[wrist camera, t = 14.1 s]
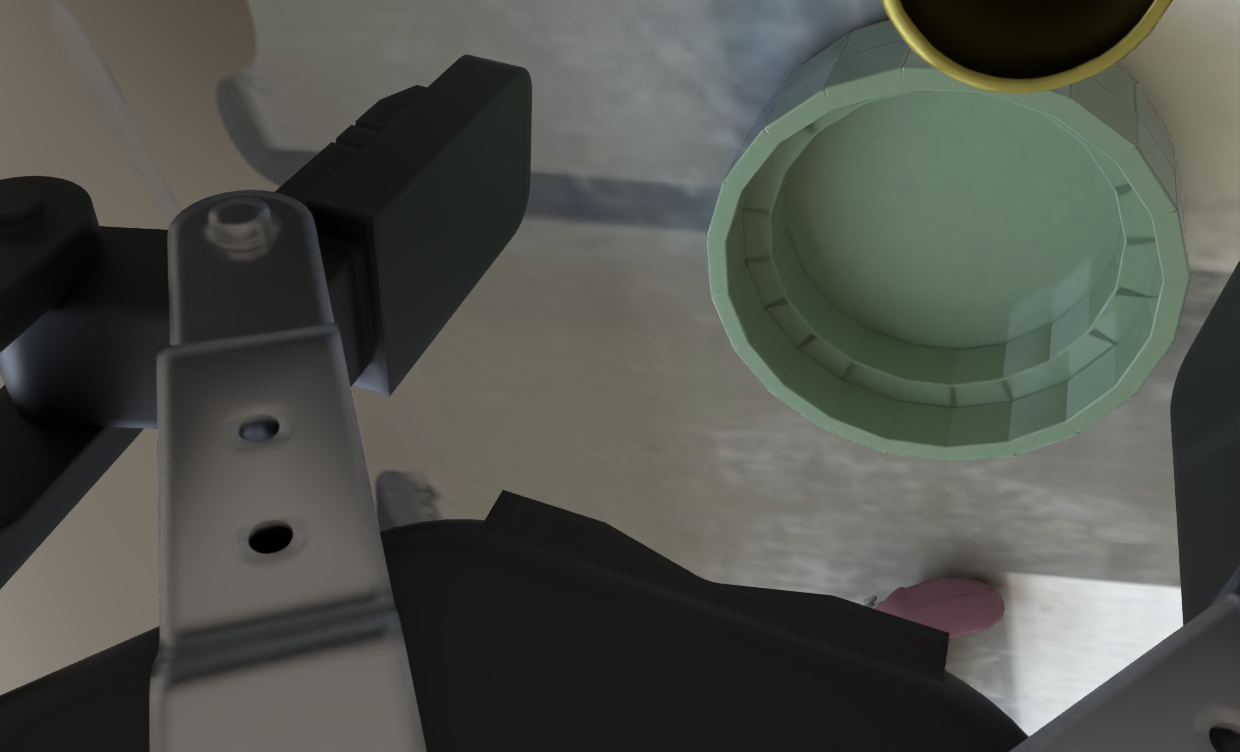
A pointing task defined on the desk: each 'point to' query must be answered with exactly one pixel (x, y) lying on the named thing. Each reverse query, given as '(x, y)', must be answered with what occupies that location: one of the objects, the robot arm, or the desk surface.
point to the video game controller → (945, 605)
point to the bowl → (949, 252)
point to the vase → (1023, 38)
